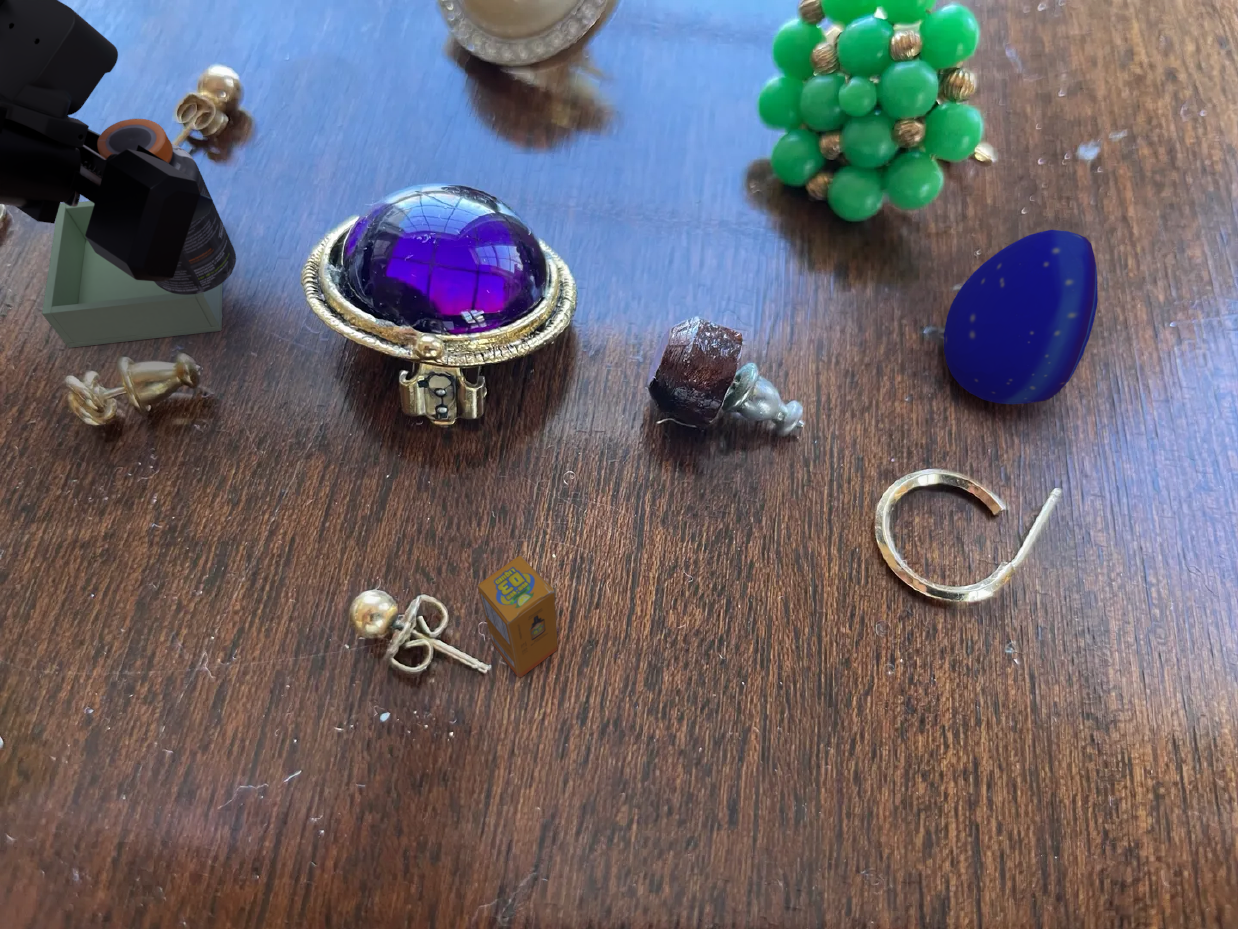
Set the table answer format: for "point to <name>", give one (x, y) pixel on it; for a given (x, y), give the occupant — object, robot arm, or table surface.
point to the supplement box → (520, 615)
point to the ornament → (1024, 319)
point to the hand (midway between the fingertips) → (176, 185)
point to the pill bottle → (207, 239)
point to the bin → (113, 294)
